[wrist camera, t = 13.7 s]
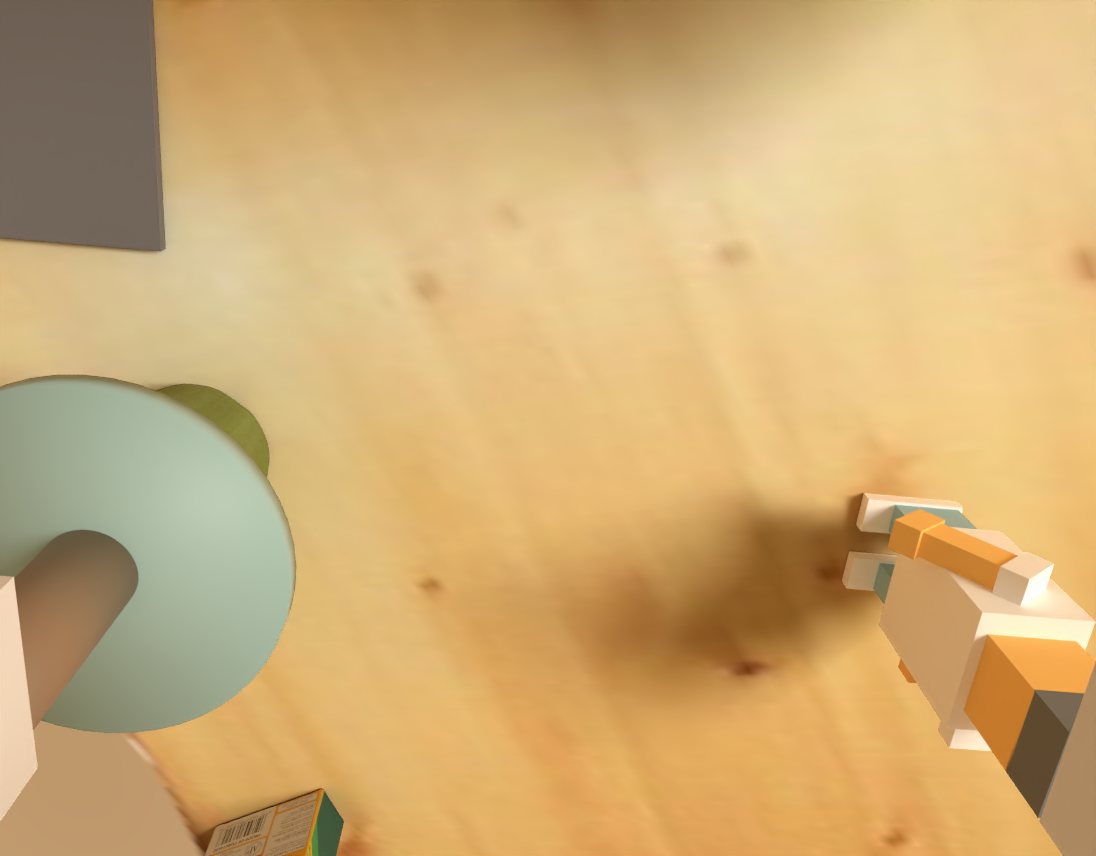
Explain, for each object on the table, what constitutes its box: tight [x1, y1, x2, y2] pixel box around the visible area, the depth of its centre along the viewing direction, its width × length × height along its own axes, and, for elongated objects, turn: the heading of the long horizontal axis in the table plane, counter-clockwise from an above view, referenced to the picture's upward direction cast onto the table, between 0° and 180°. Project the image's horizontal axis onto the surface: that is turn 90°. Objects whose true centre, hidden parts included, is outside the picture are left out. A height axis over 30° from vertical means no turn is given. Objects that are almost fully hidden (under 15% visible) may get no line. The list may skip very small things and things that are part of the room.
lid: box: [0, 375, 296, 733], centre depth 32 cm, size 15×15×11 cm
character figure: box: [842, 493, 1096, 818], centre depth 42 cm, size 8×10×18 cm
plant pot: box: [157, 384, 269, 477], centre depth 42 cm, size 12×12×11 cm
